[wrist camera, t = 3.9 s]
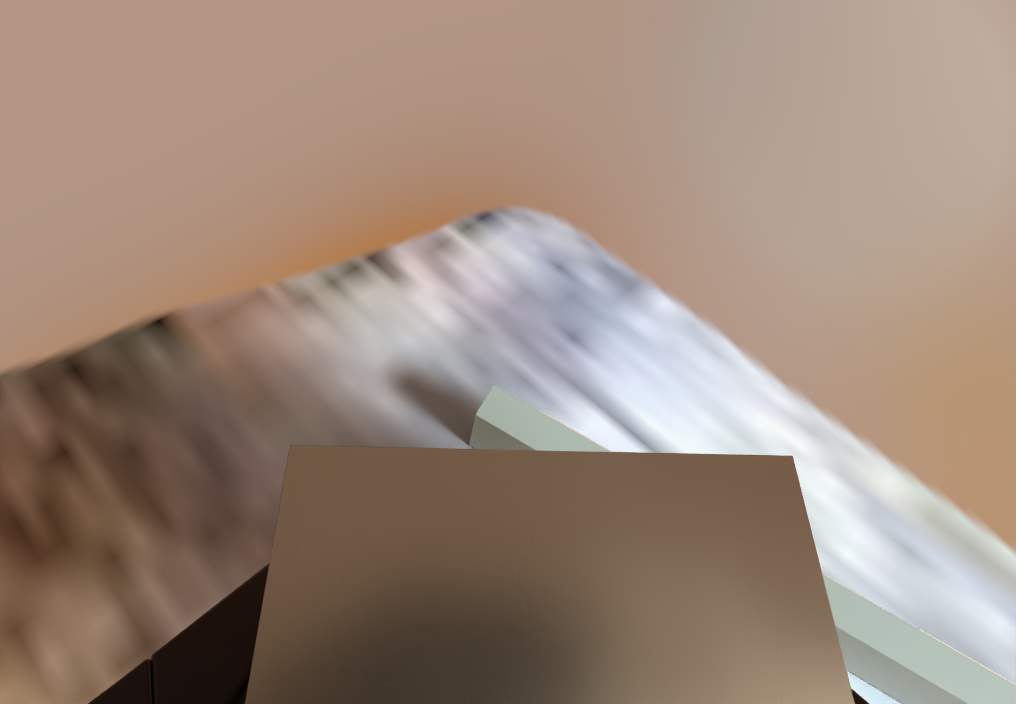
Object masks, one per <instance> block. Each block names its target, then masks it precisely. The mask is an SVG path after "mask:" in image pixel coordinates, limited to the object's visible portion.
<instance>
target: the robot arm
mask: <svg viewBox="0 0 1016 704" xmlns="http://www.w3.org/2000/svg"><path fill="white" fill-rule="evenodd" d="M269 564H270V563H269ZM269 564H268V565H267V566H265V567H264V568H263V569H261V570H260V571H259V572H258V573H256V574H255V575H254V576H252V577H251V578H250V579H249V580H247V581H246V582H245V583H243V584H242V585H241V586H240V587H238V588H237V589H236V590H235V591H233V592H232V593H231V594H229V595H228V596H227V597H226V598H224V599H223V600H222V601H220V602H219V603H218V604H217V605H215V606H214V607H213V608H211V609H210V610H209V611H208V612H206V613H205V614H204V615H203V616H201V617H200V618H199V619H197V620H196V621H195V622H194V623H192V624H191V625H190V626H188V627H187V628H186V629H185V630H183V631H182V632H181V633H179V634H178V635H177V636H176V637H174V638H173V639H172V640H171V641H169V642H168V643H167V644H165V645H164V646H163V647H162V648H160V649H159V650H158V651H156V652H155V653H154V654H153V655H152V657H151V660H150V659H146V660H145V661H143V662H142V663H141V664H139V665H138V666H137V667H136V668H134V669H133V670H132V671H130V672H129V673H128V674H127V675H125V676H124V677H123V678H122V679H120V680H119V681H118V682H116V683H115V684H114V685H112V686H111V687H110V688H108V689H107V690H106V691H104V692H103V693H102V694H100V695H99V696H98V697H96V698H95V699H94V700H92V701H91V702H90V703H88V704H245V701H246V695H247V689H248V684H249V678H250V672H251V667H252V661H253V655H254V649H255V644H256V638H257V632H258V627H259V621H260V615H261V610H262V604H263V598H264V592H265V587H266V581H267V575H268V570H269ZM851 691H852V695H853V699H854V703H855V704H869V703H868V702H867V701H866V700H864V699H863V698H862V697H861V696H860V695H858V694H857V693H856V692H855V691H854V690H852V689H851Z"/></svg>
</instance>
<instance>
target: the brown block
mask: <svg viewBox="0 0 1016 704" xmlns="http://www.w3.org/2000/svg"><path fill="white" fill-rule="evenodd" d="M245 704H855V703H854V699H853V695H852V691H851V687H850V683H849V679H848V675H847V671H846V667H845V663H844V659H843V655H842V651H841V647H840V643H839V639H838V635H837V631H836V627H835V623H834V619H833V615H832V611H831V607H830V603H829V599H828V595H827V591H826V587H825V583H824V579H823V575H822V571H821V567H820V563H819V559H818V555H817V551H816V547H815V543H814V539H813V535H812V532H811V528H810V524H809V520H808V516H807V512H806V508H805V504H804V500H803V496H802V492H801V488H800V484H799V480H798V476H797V472H796V468H795V464H794V460H793V456H774V455H727V454H680V453H633V452H586V451H539V450H492V449H445V448H398V447H351V446H304V445H290V450H289V455H288V461H287V467H286V472H285V478H284V484H283V490H282V495H281V501H280V507H279V512H278V518H277V524H276V530H275V535H274V541H273V547H272V552H271V558H270V564H269V570H268V575H267V581H266V587H265V592H264V598H263V604H262V610H261V615H260V621H259V627H258V632H257V638H256V644H255V649H254V655H253V661H252V667H251V672H250V678H249V684H248V689H247V695H246V701H245Z"/></svg>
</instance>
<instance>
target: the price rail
mask: <svg viewBox="0 0 1016 704" xmlns="http://www.w3.org/2000/svg"><path fill="white" fill-rule="evenodd" d="M469 446H471V447H473V448H474V449H492V450H539V451H586V452H612V451H610V450H608V449H606V448H605V447H603V446H601V445H599V444H598V443H596V442H594V441H593V440H591V439H589V438H587V437H586V436H584V435H582V434H580V433H579V432H577V431H575V430H573V429H572V428H570V427H568V426H567V425H565V424H563V423H561V422H560V421H558V420H556V419H554V418H553V417H551V416H549V415H547V414H546V413H544V412H541V411H539V410H537V409H535V408H534V407H532V406H530V405H528V404H527V403H525V402H523V401H521V400H520V399H518V398H516V397H515V396H513V395H511V394H509V393H508V392H506V391H504V390H502V389H501V388H499V387H497V386H495V385H494V386H493V387H492V389H491V391H490V392H489V394H488V395H487V397H486V398H485V400H484V402H483V403H482V405H481V406H480V408H479V410H478V411H477V413H476V414H475V419H474V423H473V428H472V433H471V438H470V442H469ZM822 575H823V579H824V583H825V587H826V591H827V595H828V599H829V603H830V607H831V611H832V615H833V619H834V623H835V627H836V631H837V635H838V639H839V643H840V647H841V651H842V655H843V659H844V663H845V667H846V670H847V671H849V672H850V673H852V674H854V675H855V676H857V677H859V678H860V679H862V680H864V681H865V682H867V683H869V684H871V685H872V686H874V687H876V688H877V689H879V690H881V691H882V692H884V693H886V694H887V695H889V696H891V697H892V698H894V699H896V700H897V701H899V702H901V703H902V704H1016V684H1014V683H1012V682H1011V681H1009V680H1007V679H1006V678H1004V677H1002V676H1000V675H999V674H997V673H995V672H993V671H992V670H990V669H988V668H986V667H985V666H983V665H981V664H980V663H978V662H976V661H974V660H973V659H971V658H969V657H967V656H966V655H964V654H962V653H960V652H959V651H957V650H955V649H953V648H952V647H950V646H948V645H947V644H945V643H943V642H941V641H940V640H938V639H936V638H934V637H933V636H931V635H929V634H927V633H926V632H924V631H922V630H921V629H917V628H915V627H913V626H912V625H910V624H908V623H907V622H905V621H903V620H901V619H900V618H898V617H896V616H894V615H893V614H891V613H889V612H887V611H886V610H884V609H882V608H881V607H879V606H877V605H875V604H874V603H872V602H870V601H868V600H867V599H865V598H863V596H862V595H860V594H858V593H856V592H855V591H853V590H851V589H849V588H848V587H846V586H844V585H842V584H841V583H839V582H837V581H835V580H834V579H832V578H830V577H829V576H827V575H825V574H823V573H822Z"/></svg>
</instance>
